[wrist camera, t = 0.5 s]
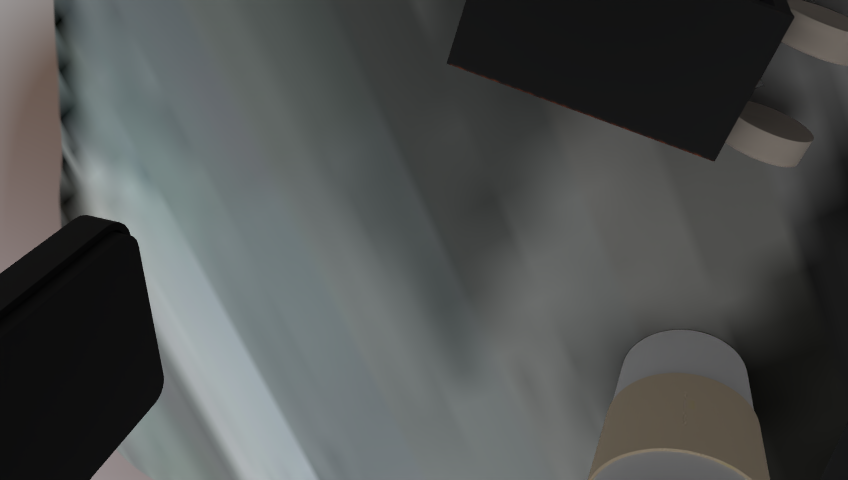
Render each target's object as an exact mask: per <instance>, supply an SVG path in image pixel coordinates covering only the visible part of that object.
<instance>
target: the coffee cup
mask: <svg viewBox="0 0 848 480" xmlns="http://www.w3.org/2000/svg"><path fill="white" fill-rule="evenodd" d="M588 480H770V478H769V472H768V467H767V462H766V456H765V451H764V445H763V440H762V434H761V429H760V424H759V420H758V418H757V415H756V413H755V412H754V409H753V403H752V397H751V391H750V386H749V380H748V374H747V370H746V367H745V364H744V362H743V360H742V359H741V357H740V356H739V355H738V353H737V352H736V351H735V350H734V349H733V348H732V347H730V346H729V345H728V344H726V343H725V342H723V341H722V340H720V339H718V338H716V337H714V336H711V335H709V334H706V333H702V332H698V331H692V330H669V331H663V332H659V333H656V334H653V335H650V336H648V337H646V338H644V339H643V340H641V341H640V342H638V343H637V344H636V345H635V346H633V347H632V349H631V350H630V351H629V352H628V354H627V355H626V357H625V359H624V362H623V365H622V369H621V372H620V376H619V380H618V383H617V387H616V391H615V394H614V398H613V401H612V402H611V404H610V406H609V409H608V412H607V415H606V419H605V422H604V426H603V429H602V432H601V436H600V439H599V443H598V446H597V450H596V453H595V457H594V460H593V463H592V467H591V470H590V474H589V477H588Z"/></svg>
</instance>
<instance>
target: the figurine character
mask: <svg viewBox="0 0 848 480" xmlns="http://www.w3.org/2000/svg"><path fill="white" fill-rule="evenodd" d="M781 42H782V43H784V44H786V45H788V46H790V47H792V48H794V49H796V50H799V51H801V52H803V53H806V54H808V55H811V56H813V57H816V58H819V59H822V60H825V61H828V62H831V63H835V64H839V65H844V66H848V17H846V16H844V15H842V14H840V13H837V12H835V11H832V10H830V9H827V8H825V7H822V6H819V5H816V4H813V3H810V2H807V1H803V0H759V1H757V0H466V3H465V6H464V9H463V13H462V16H461V19H460V22H459V26H458V29H457V32H456V35H455V39H454V42H453V45H452V48H451V51H450V55H449V58H448V61H447V64H449V65H452V66H455V67H458V68H460V69H463V70H466V71H469V72H471V73H474V74H477V75H479V76H482V77H485V78H488V79H490V80H493V81H496V82H499V83H501V84H504V85H507V86H509V87H512V88H515V89H518V90H520V91H523V92H526V93H529V94H531V95H534V96H537V97H539V98H542V99H545V100H548V101H550V102H553V103H556V104H559V105H561V106H564V107H567V108H569V109H572V110H575V111H578V112H580V113H583V114H586V115H589V116H591V117H594V118H597V119H599V120H602V121H605V122H608V123H610V124H613V125H616V126H619V127H621V128H624V129H627V130H629V131H632V132H635V133H638V134H640V135H643V136H646V137H649V138H651V139H654V140H657V141H659V142H662V143H665V144H668V145H670V146H673V147H676V148H679V149H681V150H684V151H687V152H689V153H692V154H695V155H698V156H700V157H703V158H706V159H709V160H711V161H715V159H716V158H717V156H718V154H719V152H720V150H721V149H722V147H723V145H724V143H727V144H728V145H730V146H731V147H733V148H734V149H736V150H738V151H739V152H741V153H743V154H745V155H747V156H749V157H752V158H754V159H757V160H759V161H762V162H765V163H768V164H771V165H775V166H780V167H795V166H797V165H798V163H799V162H800V160H801V158H802V157H803V155H804V154H805V152H806V150H807V149H808V147H809V146H810V144H811V142H812V141H813V139H814V137H813V135H812V133H811V132H810V131H809V130H808V129H807V128H806V127H805V126H803V125H802V124H801V123H799V122H798V121H796V120H794V119H793V118H791V117H789V116H787V115H785V114H783V113H781V112H779V111H777V110H775V109H772V108H770V107H767V106H765V105H762V104H759V103H755V102H752V101H748V100H749V98H750V97H751V95H752V93H753V91H754V89H755V88H758V87H761V86H764V84H763V83H762V81H761V80H760V79H761V77H762V75H763V73H764V71H765V70H766V68H767V66H768V64H769V62H770V61H771V59H772V57H773V55H774V53H775V52H776V50H777V48H778V46H779V44H780V43H781Z"/></svg>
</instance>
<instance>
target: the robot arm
mask: <svg viewBox="0 0 848 480" xmlns="http://www.w3.org/2000/svg"><path fill="white" fill-rule="evenodd" d="M163 383H164V375H163V370H162V365H161V359H160V354H159V349H158V344H157V339H156V334H155V328H154V323H153V318H152V313H151V308H150V302H149V297H148V292H147V287H146V282H145V277H144V271H143V266H142V261H141V256H140V251H139V246H138V243H137V240H136V239H135V238H134V237H133V236H131V235H130V232H129V229H128V228H127V227H126V226H125V225H124V224H122V223H120V222H115V221H111V220H106V219H102V218H97V217H93V216H89V215H83V216H79V217H77V218H75V219H74V220H72V221H71V222H70V223H68V224H67V225H65V226H64V227H63V228H61V229H60V230H59V231H57V232H56V233H55V234H53V235H52V236H51V237H49V238H48V239H46V240H45V241H44V242H42V243H41V244H40V245H38V246H37V247H36V248H34V249H33V250H32V251H30V252H29V253H28V254H26V255H25V256H23V257H22V258H21V259H19V260H18V261H17V262H15V263H14V264H13V265H11V266H10V267H9V268H7V269H6V270H4V271H3V272H2V273H0V480H90V479H91V478H92V476H93V475H94V474H95V473H96V472H97V470H98V469H99V468H100V467H101V466H102V465H103V463H104V462H105V461H106V460H107V459H108V458H109V457H110V455H111V454H112V453H113V452H114V451H115V450H116V448H117V447H118V446H119V445H120V444H121V442H122V441H123V440H124V439H125V438H126V437H127V435H128V434H129V433H130V432H131V431H132V430H133V428H134V427H135V426H136V425H137V424H138V423H139V421H140V420H141V419H142V418H143V417H144V416H145V414H146V413H147V412H148V411H149V410H150V408H151V407H152V406H153V405H154V404H155V403H156V401H157V400H158V398H159V396H160V394H161V392H162V388H163ZM820 480H848V423H847V425H846V427H845V429H844V431H843V433H842V435H841V437H840V439H839V442H838V444H837V446H836V448H835V450H834V452H833V454H832V456H831V458H830V460H829V462H828V465H827V467H826V469H825V471H824V473H823V475H822V477H821V479H820Z"/></svg>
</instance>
